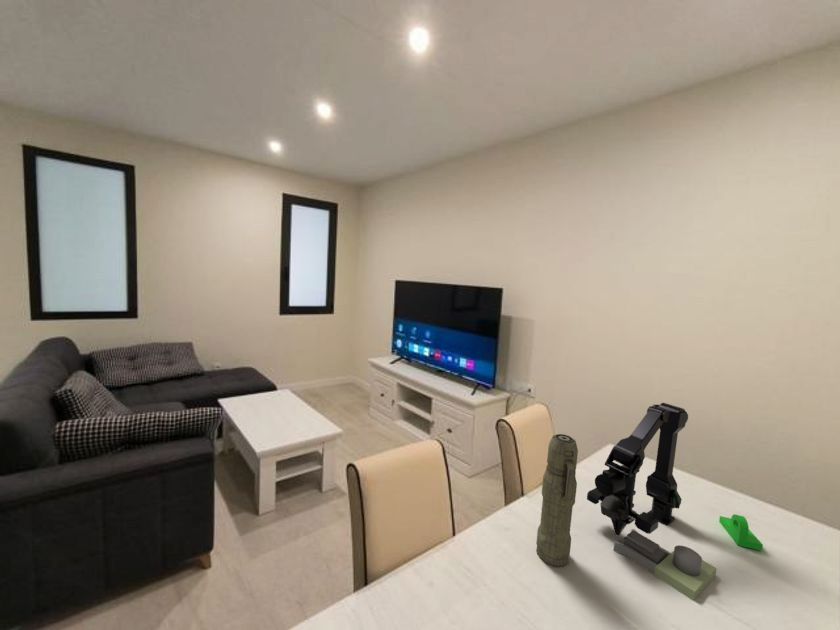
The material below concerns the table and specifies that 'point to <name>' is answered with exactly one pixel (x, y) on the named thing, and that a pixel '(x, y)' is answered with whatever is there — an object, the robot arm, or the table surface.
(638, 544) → the two tier gray step
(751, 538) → the mechanical part
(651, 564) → the green block with prongs
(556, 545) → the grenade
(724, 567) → the table surface
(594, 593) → the table surface
